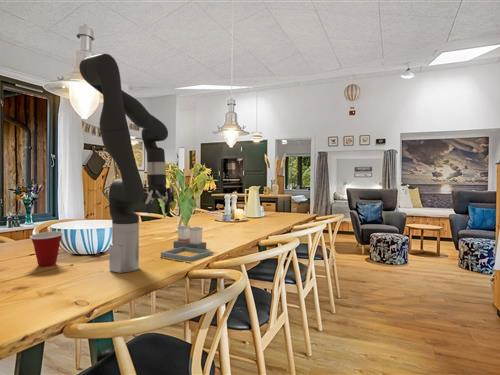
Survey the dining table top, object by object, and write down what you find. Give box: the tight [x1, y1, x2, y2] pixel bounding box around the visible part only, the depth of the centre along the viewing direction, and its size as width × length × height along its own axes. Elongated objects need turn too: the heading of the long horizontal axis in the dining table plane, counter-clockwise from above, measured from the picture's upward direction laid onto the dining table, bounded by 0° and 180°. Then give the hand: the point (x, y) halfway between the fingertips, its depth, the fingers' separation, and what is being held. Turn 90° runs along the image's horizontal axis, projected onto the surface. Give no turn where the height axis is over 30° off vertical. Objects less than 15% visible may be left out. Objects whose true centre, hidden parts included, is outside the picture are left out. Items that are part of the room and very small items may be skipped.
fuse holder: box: [173, 240, 207, 250], centre depth 155 cm, size 7×14×4 cm, turn 60°
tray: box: [160, 247, 212, 264], centre depth 141 cm, size 14×16×2 cm
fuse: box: [190, 226, 203, 244], centre depth 153 cm, size 4×4×10 cm
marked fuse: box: [177, 225, 191, 242], centre depth 157 cm, size 4×4×10 cm
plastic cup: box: [29, 230, 64, 268], centre depth 126 cm, size 11×11×12 cm
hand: (158, 213), depth 135 cm, fingers open, 8 cm apart
